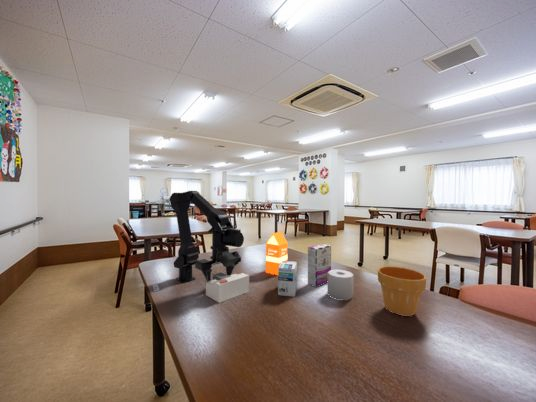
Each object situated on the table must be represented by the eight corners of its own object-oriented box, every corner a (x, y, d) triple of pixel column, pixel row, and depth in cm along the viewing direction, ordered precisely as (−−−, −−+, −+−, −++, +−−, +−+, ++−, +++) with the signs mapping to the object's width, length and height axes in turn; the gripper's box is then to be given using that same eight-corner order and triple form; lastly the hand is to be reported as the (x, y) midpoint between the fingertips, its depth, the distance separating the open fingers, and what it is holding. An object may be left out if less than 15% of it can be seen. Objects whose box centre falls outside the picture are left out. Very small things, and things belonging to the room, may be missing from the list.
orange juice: (287, 270, 120) (288, 231, 119) (278, 275, 112) (279, 234, 112) (274, 268, 124) (274, 230, 123) (265, 272, 117) (265, 232, 116)
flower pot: (418, 304, 84) (419, 268, 84) (431, 325, 71) (432, 282, 70) (374, 298, 89) (375, 264, 88) (379, 316, 75) (380, 276, 75)
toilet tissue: (343, 286, 100) (344, 266, 100) (356, 300, 87) (357, 277, 86) (322, 286, 100) (323, 266, 99) (332, 300, 86) (332, 277, 86)
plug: (212, 289, 96) (212, 274, 95) (220, 286, 98) (221, 272, 98) (226, 296, 89) (226, 280, 89) (234, 293, 92) (235, 278, 91)
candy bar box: (322, 278, 110) (322, 243, 109) (331, 281, 106) (331, 245, 106) (306, 284, 102) (307, 246, 102) (316, 287, 99) (316, 248, 98)
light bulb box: (294, 297, 89) (295, 269, 89) (277, 295, 90) (277, 267, 90) (297, 286, 99) (297, 261, 99) (281, 285, 101) (281, 260, 100)
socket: (205, 295, 90) (206, 276, 89) (235, 285, 100) (235, 268, 99) (219, 302, 83) (219, 283, 83) (249, 291, 93) (249, 274, 93)
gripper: (209, 251, 83) (209, 294, 83) (249, 244, 96) (249, 281, 97) (194, 246, 91) (194, 286, 91) (233, 240, 104) (232, 274, 105)
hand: (219, 282), depth 96 cm, fingers open, 9 cm apart
